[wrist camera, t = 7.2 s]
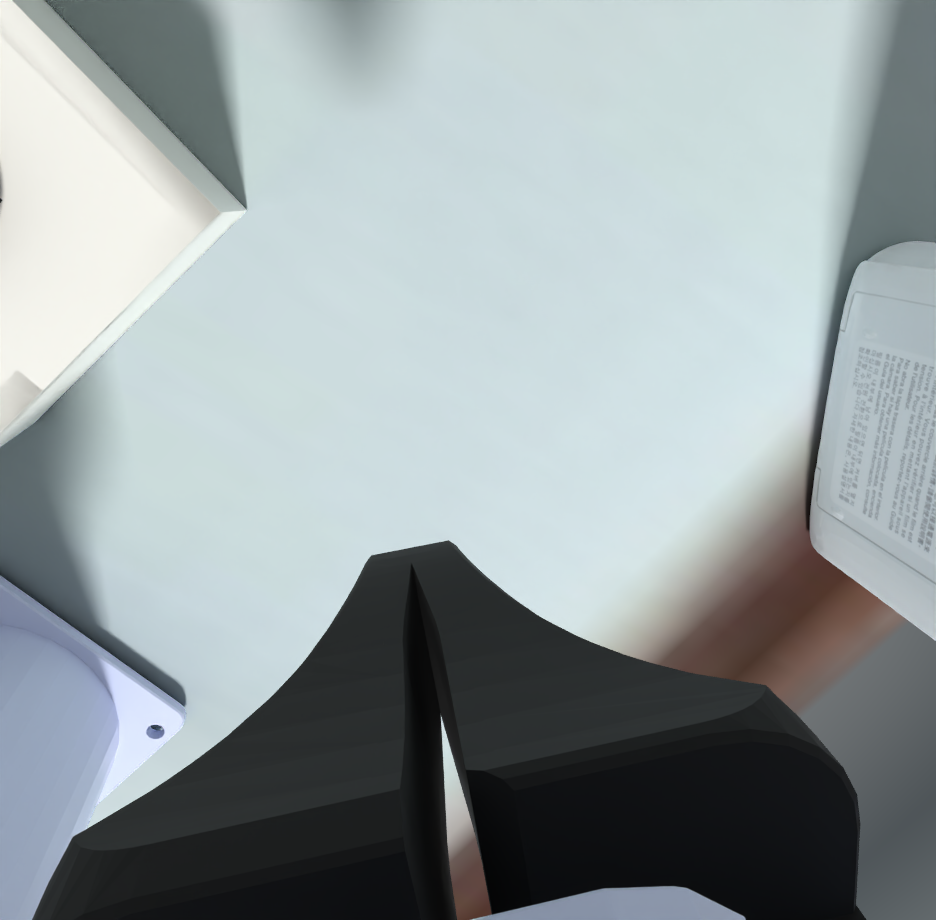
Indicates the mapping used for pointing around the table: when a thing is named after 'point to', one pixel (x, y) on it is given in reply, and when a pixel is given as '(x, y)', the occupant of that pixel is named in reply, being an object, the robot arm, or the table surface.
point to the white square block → (83, 210)
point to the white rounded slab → (883, 435)
